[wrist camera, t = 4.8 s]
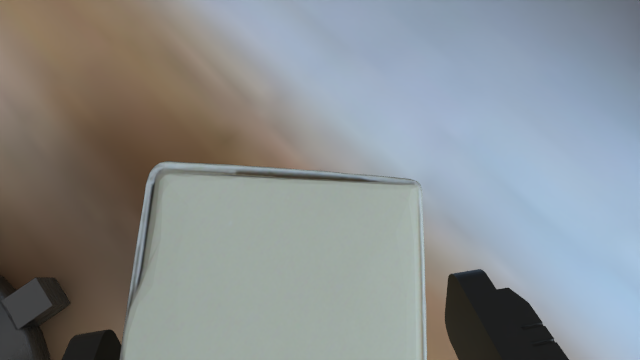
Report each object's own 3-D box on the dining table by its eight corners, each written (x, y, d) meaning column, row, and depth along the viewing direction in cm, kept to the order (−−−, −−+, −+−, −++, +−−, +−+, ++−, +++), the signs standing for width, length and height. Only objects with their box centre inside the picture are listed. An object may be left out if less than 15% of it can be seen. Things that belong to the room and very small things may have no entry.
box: (350, 381, 16) (433, 589, 5) (234, 376, 16) (77, 574, 5) (354, 239, 17) (429, 171, 6) (246, 234, 17) (140, 155, 6)
